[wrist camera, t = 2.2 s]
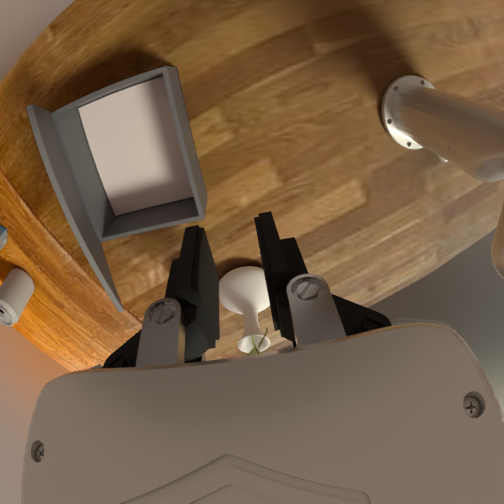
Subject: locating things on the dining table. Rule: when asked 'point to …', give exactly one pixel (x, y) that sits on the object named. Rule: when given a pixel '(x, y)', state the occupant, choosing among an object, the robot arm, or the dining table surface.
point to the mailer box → (133, 155)
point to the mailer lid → (70, 197)
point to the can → (14, 295)
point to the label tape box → (3, 236)
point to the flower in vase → (246, 304)
